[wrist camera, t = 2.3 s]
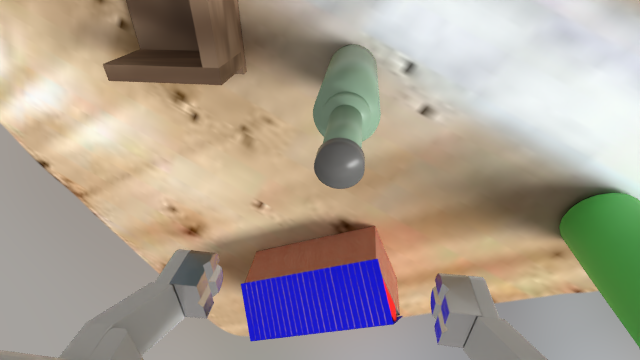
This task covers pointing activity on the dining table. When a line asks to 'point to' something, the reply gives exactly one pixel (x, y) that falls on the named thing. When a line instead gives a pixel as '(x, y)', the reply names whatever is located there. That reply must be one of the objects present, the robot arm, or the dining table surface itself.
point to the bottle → (609, 251)
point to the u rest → (182, 43)
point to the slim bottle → (346, 115)
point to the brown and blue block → (321, 286)
